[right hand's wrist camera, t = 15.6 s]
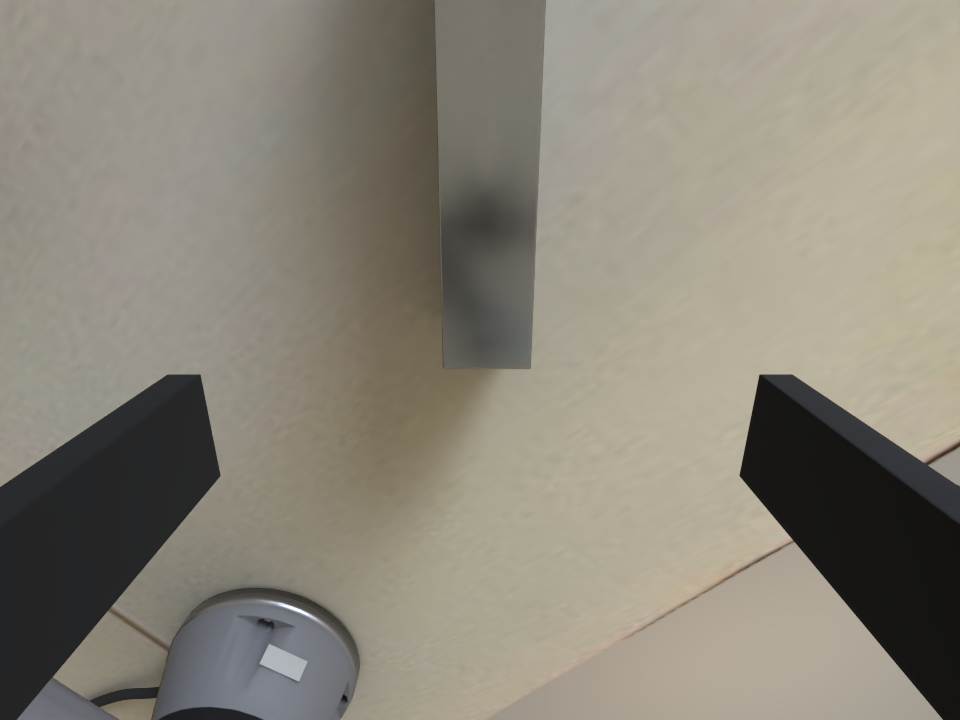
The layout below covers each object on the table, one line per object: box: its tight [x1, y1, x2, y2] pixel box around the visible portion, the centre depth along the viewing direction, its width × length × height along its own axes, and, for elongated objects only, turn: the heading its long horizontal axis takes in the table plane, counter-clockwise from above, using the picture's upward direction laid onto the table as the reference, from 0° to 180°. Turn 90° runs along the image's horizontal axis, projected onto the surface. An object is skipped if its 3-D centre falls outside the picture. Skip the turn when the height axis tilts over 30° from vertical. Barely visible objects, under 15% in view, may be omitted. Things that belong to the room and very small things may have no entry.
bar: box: [434, 0, 546, 369], centre depth 26 cm, size 28×4×8 cm, turn 0°
